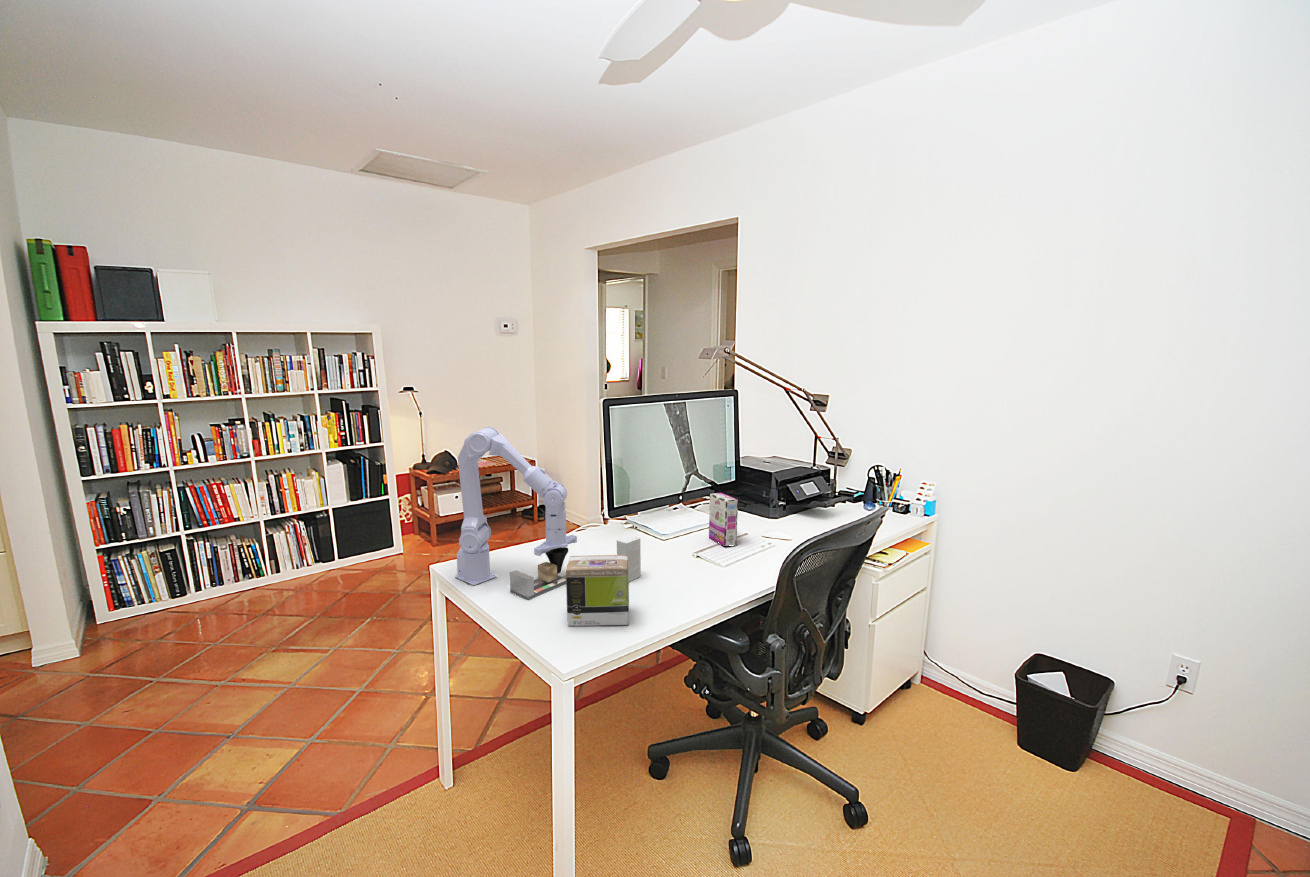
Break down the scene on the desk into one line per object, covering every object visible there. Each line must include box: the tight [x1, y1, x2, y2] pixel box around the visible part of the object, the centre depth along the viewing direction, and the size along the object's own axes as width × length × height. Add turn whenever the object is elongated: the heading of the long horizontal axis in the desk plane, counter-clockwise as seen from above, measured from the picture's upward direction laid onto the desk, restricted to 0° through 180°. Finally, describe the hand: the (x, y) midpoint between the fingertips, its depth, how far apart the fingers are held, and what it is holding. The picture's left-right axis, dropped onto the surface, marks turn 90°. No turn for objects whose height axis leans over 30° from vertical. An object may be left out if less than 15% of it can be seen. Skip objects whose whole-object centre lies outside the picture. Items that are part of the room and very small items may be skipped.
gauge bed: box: [509, 569, 566, 601], centre depth 159 cm, size 15×8×6 cm, turn 142°
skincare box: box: [616, 534, 642, 582], centre depth 165 cm, size 6×4×12 cm
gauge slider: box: [537, 561, 559, 584], centre depth 161 cm, size 4×6×4 cm, turn 52°
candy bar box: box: [708, 492, 739, 547], centre depth 196 cm, size 11×5×16 cm, turn 25°
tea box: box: [565, 554, 630, 627], centre depth 141 cm, size 15×10×15 cm, turn 92°
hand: (556, 572), depth 164 cm, fingers closed
